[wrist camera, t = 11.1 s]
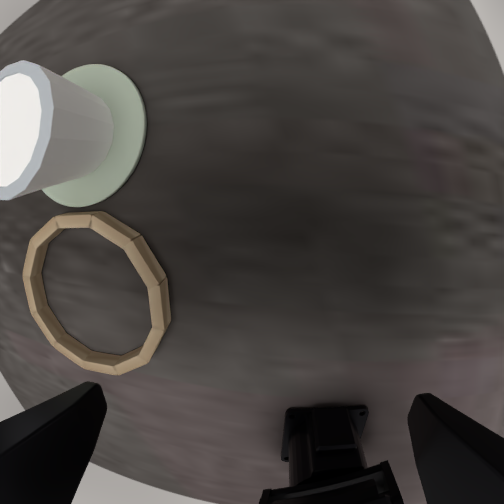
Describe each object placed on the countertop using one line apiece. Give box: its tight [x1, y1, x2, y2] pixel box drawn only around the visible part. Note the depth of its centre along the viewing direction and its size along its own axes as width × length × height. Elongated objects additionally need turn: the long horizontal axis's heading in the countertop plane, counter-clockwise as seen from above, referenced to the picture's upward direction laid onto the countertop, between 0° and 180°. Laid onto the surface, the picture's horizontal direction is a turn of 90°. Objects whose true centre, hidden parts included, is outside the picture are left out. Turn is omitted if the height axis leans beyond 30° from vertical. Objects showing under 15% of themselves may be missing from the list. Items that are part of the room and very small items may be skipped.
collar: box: [23, 211, 171, 375], centre depth 20 cm, size 12×12×2 cm
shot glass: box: [0, 60, 114, 200], centre depth 14 cm, size 7×7×7 cm
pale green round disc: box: [42, 64, 147, 207], centre depth 17 cm, size 10×10×1 cm
